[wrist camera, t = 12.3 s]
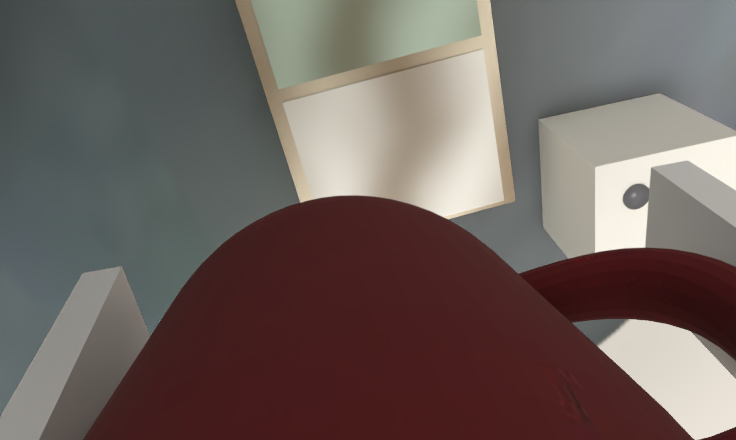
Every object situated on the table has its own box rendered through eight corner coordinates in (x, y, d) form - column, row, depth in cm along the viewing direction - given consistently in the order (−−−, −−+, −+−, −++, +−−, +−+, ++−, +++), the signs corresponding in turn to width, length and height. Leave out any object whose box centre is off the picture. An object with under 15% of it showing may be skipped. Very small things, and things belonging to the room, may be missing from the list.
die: (542, 226, 32) (596, 292, 26) (537, 118, 29) (596, 168, 24) (652, 202, 32) (728, 262, 27) (658, 92, 29) (745, 135, 24)
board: (316, 244, 30) (317, 256, 29) (202, -111, 23) (198, -111, 22) (508, 192, 30) (516, 202, 29) (459, -179, 23) (468, -183, 22)
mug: (562, -38, 11) (1734, 187, 2) (656, 289, 15) (1221, 877, 6) (66, 213, 12) (-565, 1066, 3) (269, 459, 16) (241, 1171, 7)
